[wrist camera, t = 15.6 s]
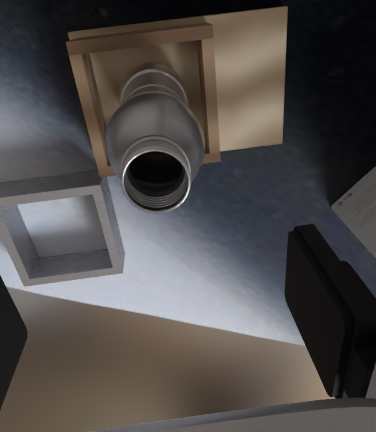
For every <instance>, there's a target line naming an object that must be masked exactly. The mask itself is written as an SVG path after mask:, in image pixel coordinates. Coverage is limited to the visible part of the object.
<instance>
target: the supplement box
mask: <svg viewBox="0 0 376 432" xmlns="http://www.w3.org/2000/svg"><path fill="white" fill-rule="evenodd" d="M331 209H332V210H333V211H334V212H335V214H336V215H337V216H338V217H339V218H340V219H341V220H342V221H343V222H344V224H345V225H346V226H347V227H348V228H349V229H350V230H351V231H352V233H353V234H354V235H355V236H356V237H357V238H358V239H359V240H360V241H361V243H362V244H363V245H364V246H365V247H366V248H367V249H368V250H369V251H370V253H371V254H372V255H373V256H374V257H375V258H376V166H375V167H374V168H373V169H372V170H371V171H369V172H368V173H367V174H366V175H365V176H364V177H363V178H362V179H361V180H359V181H358V182H357V183H356V184H355V185H354V186H353V187H352V188H351V189H350V190H348V191H347V192H346V193H345V194H344V195H343V196H342V197H341V198H340V199H338V200H337V201H336V202H335V203H334V204H333V205H332V206H331Z"/></svg>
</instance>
